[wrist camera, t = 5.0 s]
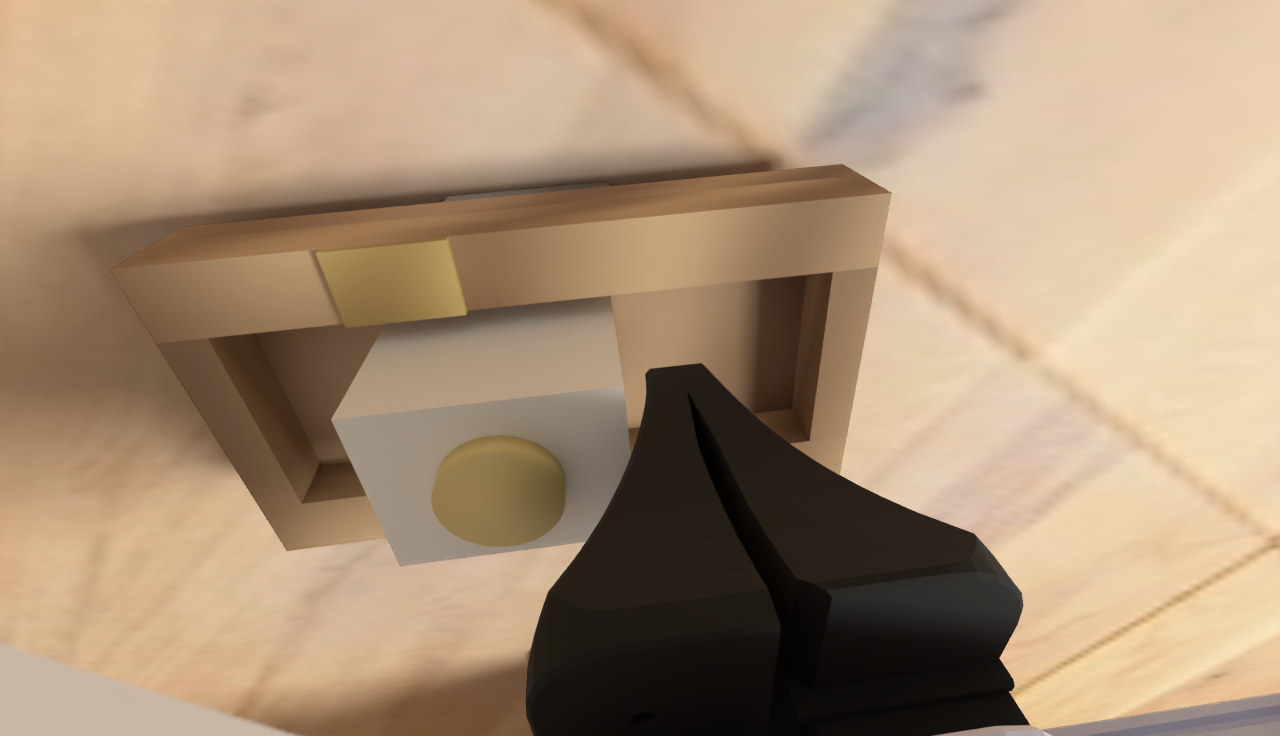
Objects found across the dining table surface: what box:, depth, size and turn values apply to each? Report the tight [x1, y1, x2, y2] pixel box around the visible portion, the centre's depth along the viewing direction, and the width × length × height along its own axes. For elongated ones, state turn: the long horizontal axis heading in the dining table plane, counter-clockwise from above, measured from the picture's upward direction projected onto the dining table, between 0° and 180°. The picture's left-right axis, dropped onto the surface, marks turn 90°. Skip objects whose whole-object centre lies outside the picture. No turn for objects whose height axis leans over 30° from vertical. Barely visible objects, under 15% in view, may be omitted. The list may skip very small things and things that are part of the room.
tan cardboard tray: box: [110, 164, 892, 551], centre depth 14 cm, size 15×8×4 cm, turn 93°
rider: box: [331, 296, 631, 566], centre depth 12 cm, size 5×4×4 cm
